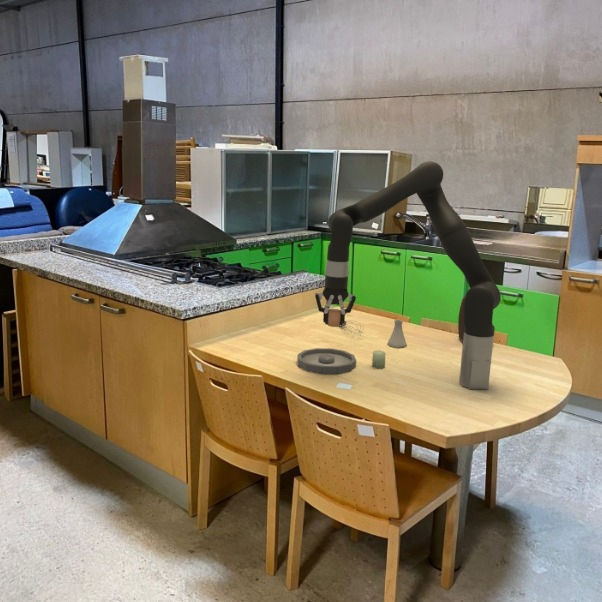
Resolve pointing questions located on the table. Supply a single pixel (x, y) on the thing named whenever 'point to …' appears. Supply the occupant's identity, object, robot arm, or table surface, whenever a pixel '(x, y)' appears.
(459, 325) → the small grey backpack
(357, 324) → the kitchen whisk
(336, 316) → the terracotta bead
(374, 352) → the pale green rounded cylinder
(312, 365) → the ring tray
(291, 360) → the table surface
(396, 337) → the flask
